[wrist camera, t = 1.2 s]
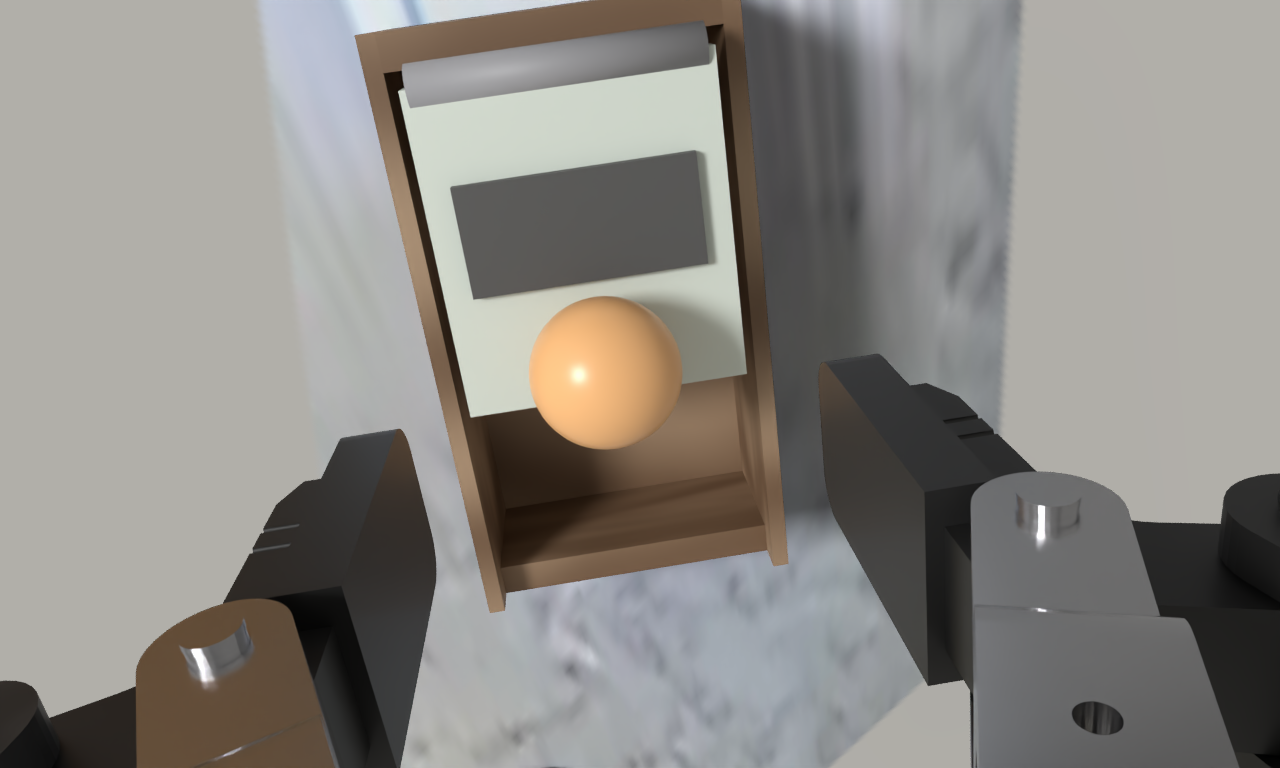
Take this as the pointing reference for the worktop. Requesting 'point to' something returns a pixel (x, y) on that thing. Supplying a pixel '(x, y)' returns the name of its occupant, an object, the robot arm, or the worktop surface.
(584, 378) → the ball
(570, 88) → the flap
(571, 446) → the bin
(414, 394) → the worktop surface
